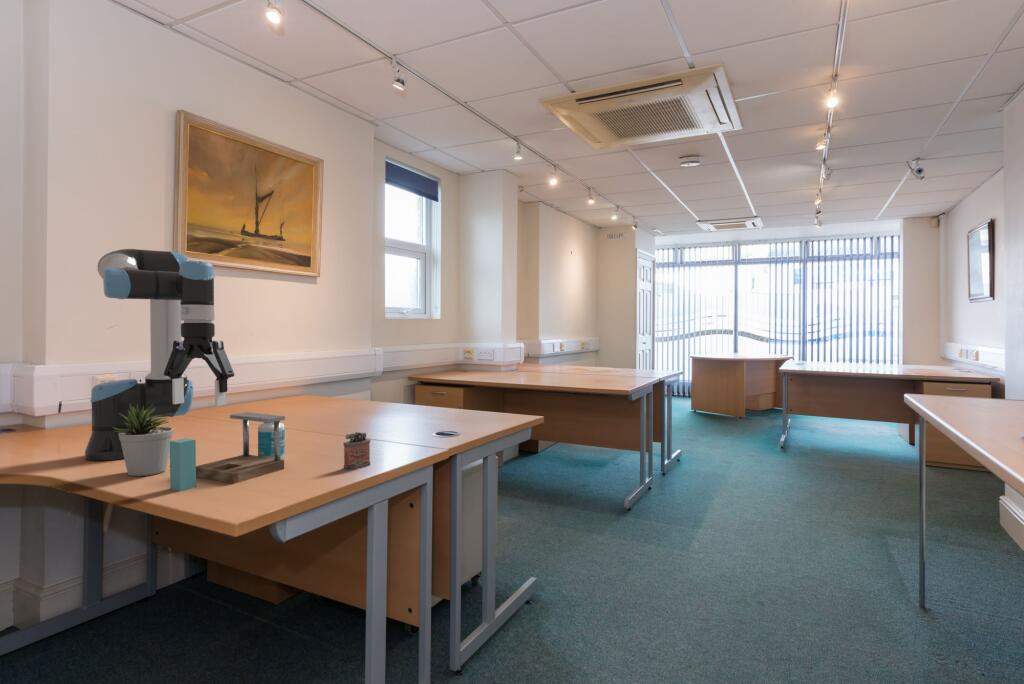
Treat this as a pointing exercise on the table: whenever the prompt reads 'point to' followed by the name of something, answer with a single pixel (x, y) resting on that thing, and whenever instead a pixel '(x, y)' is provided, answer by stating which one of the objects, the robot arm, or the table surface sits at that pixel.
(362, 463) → the lighter
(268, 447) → the pill bottle
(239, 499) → the table surface
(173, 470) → the peg
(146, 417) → the potted plant
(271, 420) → the grey metal bridge
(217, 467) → the socket plate
